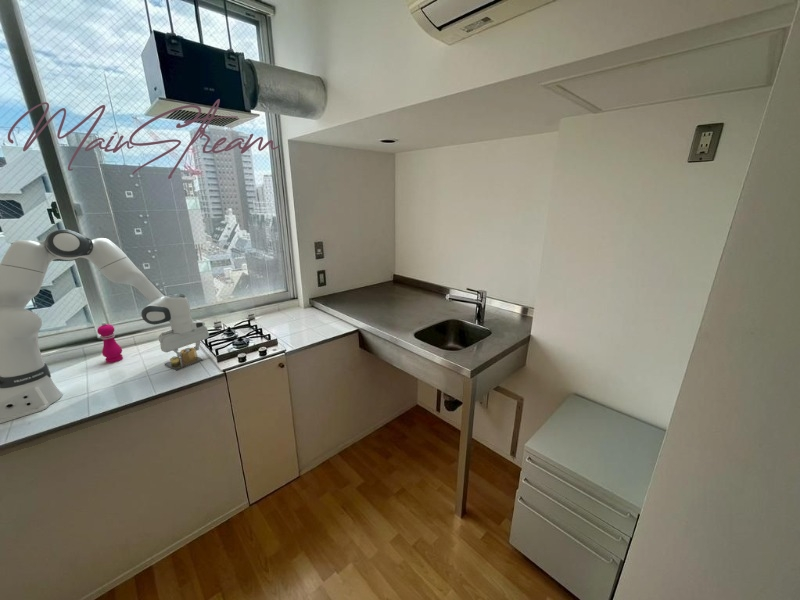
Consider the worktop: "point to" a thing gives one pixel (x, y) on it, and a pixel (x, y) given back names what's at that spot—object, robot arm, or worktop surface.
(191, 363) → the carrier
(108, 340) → the pepper mill
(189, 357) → the planet gear
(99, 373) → the worktop surface
